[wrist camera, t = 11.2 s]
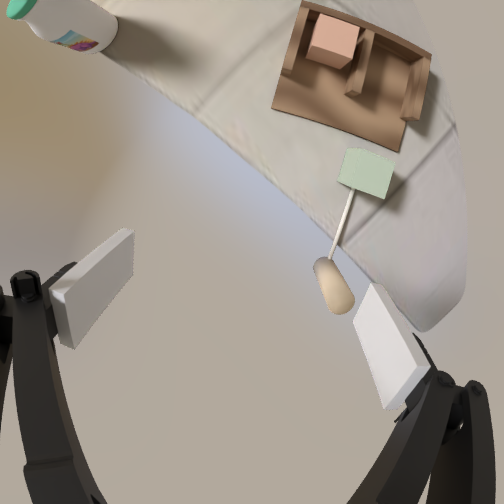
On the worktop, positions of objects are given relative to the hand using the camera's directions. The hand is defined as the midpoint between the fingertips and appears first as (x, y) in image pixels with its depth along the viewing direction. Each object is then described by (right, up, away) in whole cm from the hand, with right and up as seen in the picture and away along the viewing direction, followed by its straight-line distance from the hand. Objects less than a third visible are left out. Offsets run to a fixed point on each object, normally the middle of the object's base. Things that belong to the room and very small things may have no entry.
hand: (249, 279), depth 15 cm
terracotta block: (+10, +29, +16) cm, 35 cm away
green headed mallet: (+13, +7, +26) cm, 30 cm away
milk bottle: (-24, +36, +15) cm, 46 cm away
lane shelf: (+14, +25, +18) cm, 34 cm away
